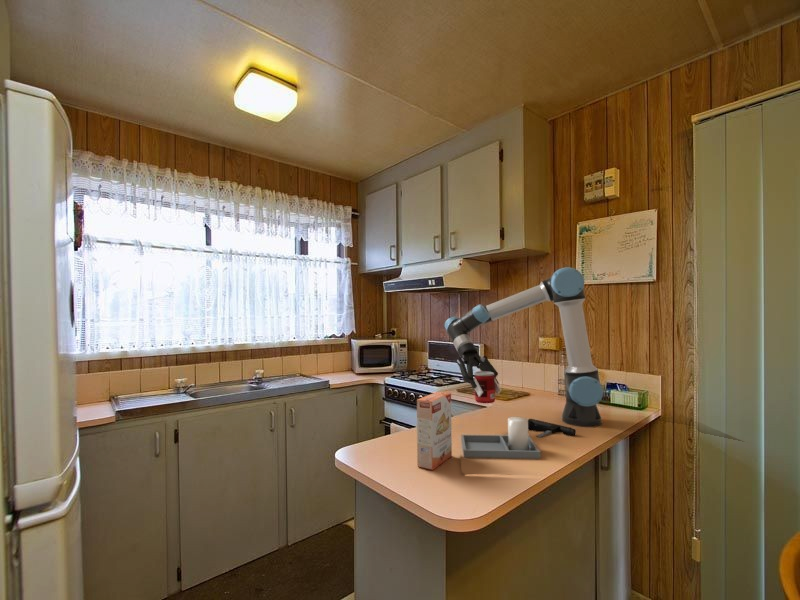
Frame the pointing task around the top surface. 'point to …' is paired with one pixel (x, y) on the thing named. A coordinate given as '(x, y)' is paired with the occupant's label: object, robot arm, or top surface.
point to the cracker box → (434, 430)
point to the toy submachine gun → (549, 428)
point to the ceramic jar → (518, 434)
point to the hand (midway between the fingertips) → (490, 393)
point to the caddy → (495, 447)
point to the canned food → (485, 386)
